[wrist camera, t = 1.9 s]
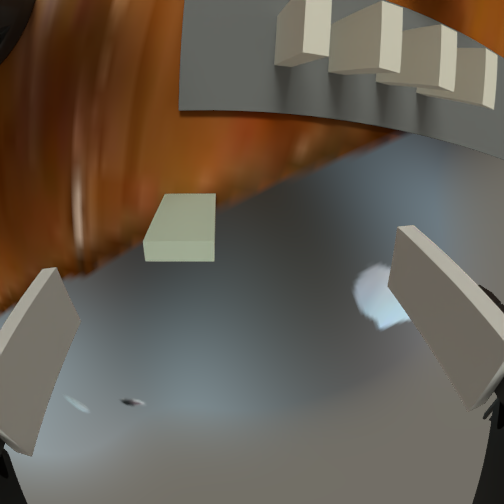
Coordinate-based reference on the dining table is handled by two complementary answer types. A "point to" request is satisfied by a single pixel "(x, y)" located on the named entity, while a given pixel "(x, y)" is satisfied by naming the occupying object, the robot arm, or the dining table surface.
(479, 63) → the domino
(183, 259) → the domino
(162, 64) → the dining table surface
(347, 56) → the domino
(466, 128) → the slate mat
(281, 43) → the domino
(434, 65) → the domino
